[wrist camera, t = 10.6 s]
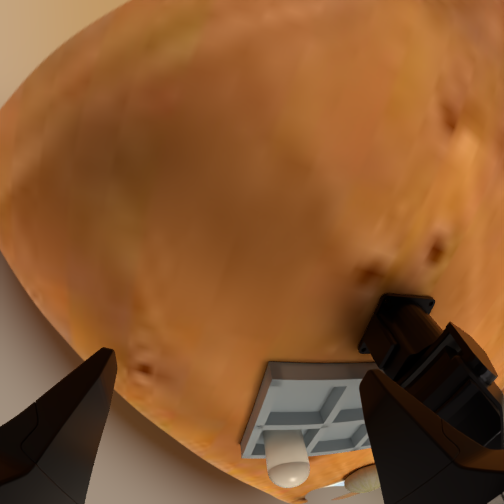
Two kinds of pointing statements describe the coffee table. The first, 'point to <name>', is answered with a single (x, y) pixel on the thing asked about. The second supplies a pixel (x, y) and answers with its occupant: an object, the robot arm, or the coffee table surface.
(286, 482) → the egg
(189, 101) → the coffee table surface
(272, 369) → the grey compartment tray
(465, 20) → the coffee table surface
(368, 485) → the sea urchin shell
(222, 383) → the coffee table surface
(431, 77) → the coffee table surface
